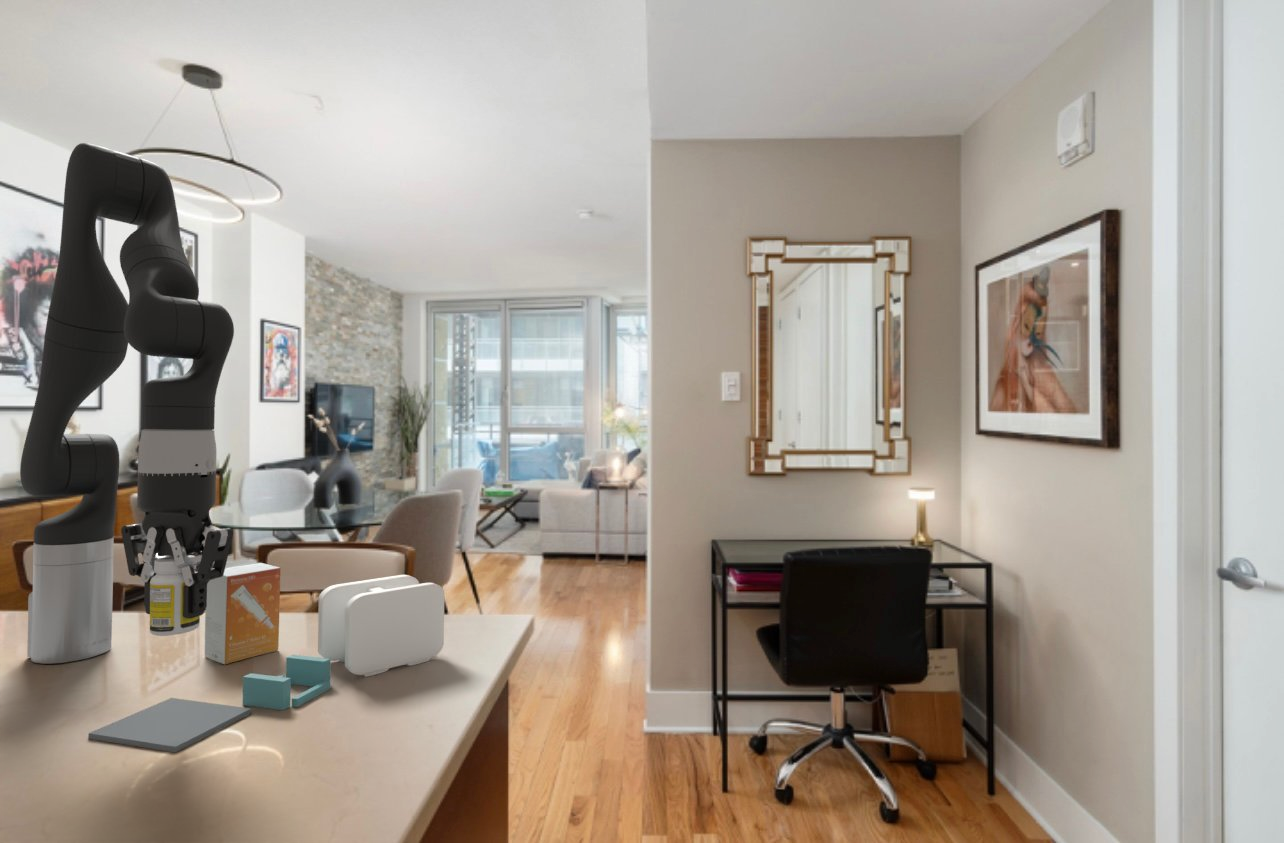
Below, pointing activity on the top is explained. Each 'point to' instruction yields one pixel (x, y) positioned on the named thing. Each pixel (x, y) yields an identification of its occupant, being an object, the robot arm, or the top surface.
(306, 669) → the teal corner cradle
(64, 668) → the top surface
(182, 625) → the supplement bottle
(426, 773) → the top surface
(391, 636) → the cable organizer
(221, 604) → the small box
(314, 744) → the top surface
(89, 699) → the top surface
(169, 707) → the mat
